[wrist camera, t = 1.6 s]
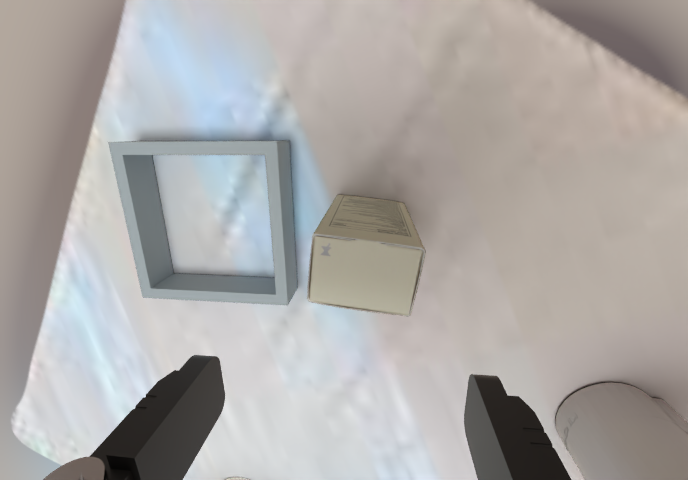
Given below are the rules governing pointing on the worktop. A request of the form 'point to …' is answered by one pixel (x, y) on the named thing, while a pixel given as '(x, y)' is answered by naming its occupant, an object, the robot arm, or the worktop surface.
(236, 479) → the cylindrical container
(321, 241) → the skincare box
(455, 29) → the worktop surface
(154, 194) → the box
